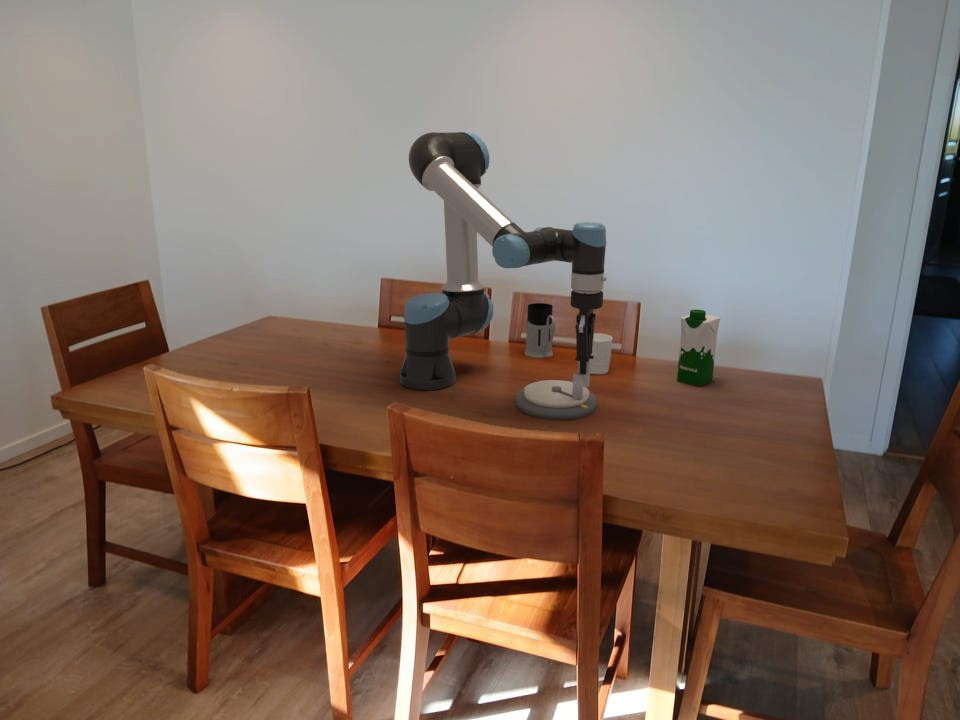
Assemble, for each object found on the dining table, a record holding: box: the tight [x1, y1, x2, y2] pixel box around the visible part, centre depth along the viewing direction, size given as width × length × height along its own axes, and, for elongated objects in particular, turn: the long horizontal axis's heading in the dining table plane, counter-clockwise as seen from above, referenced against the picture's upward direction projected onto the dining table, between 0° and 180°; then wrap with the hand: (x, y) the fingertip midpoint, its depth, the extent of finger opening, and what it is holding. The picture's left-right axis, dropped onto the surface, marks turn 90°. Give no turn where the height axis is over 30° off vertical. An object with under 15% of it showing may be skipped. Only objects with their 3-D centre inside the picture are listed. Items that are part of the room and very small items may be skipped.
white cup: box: [589, 333, 613, 375], centre depth 205 cm, size 8×8×10 cm
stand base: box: [515, 387, 598, 421], centre depth 181 cm, size 20×20×2 cm
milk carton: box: [676, 309, 721, 388], centre depth 196 cm, size 9×9×20 cm
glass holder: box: [524, 302, 556, 359], centre depth 218 cm, size 9×14×15 cm, turn 21°
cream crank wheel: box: [523, 372, 590, 408], centre depth 179 cm, size 16×16×8 cm
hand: (583, 385), depth 177 cm, fingers closed
